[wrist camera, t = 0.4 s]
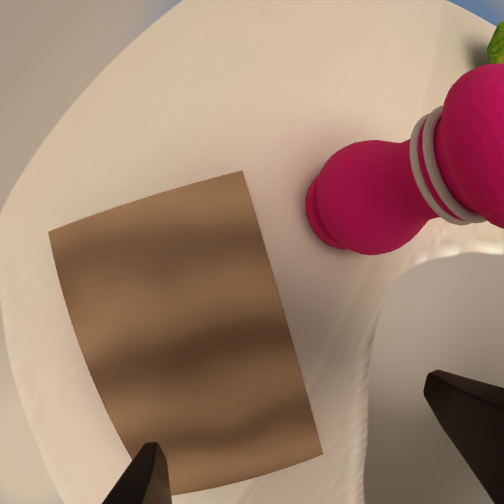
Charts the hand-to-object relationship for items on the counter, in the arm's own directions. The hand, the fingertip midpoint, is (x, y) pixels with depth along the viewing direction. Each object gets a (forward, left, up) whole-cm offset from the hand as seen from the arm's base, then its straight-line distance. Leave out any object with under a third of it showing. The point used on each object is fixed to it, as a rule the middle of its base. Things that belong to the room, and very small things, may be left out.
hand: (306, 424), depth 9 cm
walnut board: (-1, +5, -14) cm, 15 cm away
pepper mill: (+6, -9, -14) cm, 18 cm away
